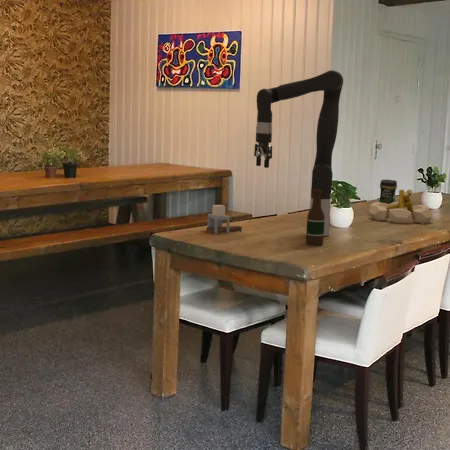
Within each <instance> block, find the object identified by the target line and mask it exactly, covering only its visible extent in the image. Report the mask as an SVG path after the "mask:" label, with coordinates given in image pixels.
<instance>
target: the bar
mask: <svg viewBox="0 0 450 450" xmlns="http://www.w3.org/2000/svg"><path fill="white" fill-rule="evenodd" d="M242 228H243V227H242V226H240V225H229V233H238V232H237V231H240V232H242V230H243V229H242ZM214 229H215V227H206V229H205V230H206V233H207V234H215V233H214ZM226 229H227V225H226V226H222V227H217V234H218V233H219V234H220V233H222V234H223V233H226Z"/></svg>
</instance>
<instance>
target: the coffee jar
mask: <svg viewBox="0 0 450 450" xmlns="http://www.w3.org/2000/svg"><path fill="white" fill-rule="evenodd" d="M379 183H380V184H379V188H380V194H379V195H380V196H379V199H378V200H379V201H378V202H381V203H386V204H391V203H393V202H396V190H397V189H398V182H397V180H392V179H381V180H380V182H379Z"/></svg>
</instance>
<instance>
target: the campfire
mask: <svg viewBox="0 0 450 450" xmlns="http://www.w3.org/2000/svg"><path fill="white" fill-rule="evenodd" d="M412 194H413V190H411V189H408V190H406V191H405V190H404V189H399V191H398V198H399V199H398V200H399V201H395V202H393V203H391V204H386V203H381V202H379V201H375V202H373V203H371V204H370V205H369V206H368V207H369V209H368V214H369V215H370V218H371V219H372V220H373V219H374V220H373V221H376V220H377V221H376V222H384V221H386V219H387V217H388V220H390V221H391V222H392V223H394V224H399V223H408V224H410V223H413V222H417V223H416V224H420V223H426V224H430V222H431V221H432V220H433V217H434V216H433V211H432V209H431V207H429V206H427V205H424V204H415V205H414V201H413V200H412V199H411V195H412ZM413 219H414V220H413Z"/></svg>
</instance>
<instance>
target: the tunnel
mask: <svg viewBox="0 0 450 450" xmlns="http://www.w3.org/2000/svg"><path fill="white" fill-rule="evenodd" d="M224 220H226V226H227V229H226V232H225V233H226V234H230V232H229V226H231V225H230V223H231V222H230V221H231V216H229V215H226V214H225V216H214V215H212V213H208V214H207V227H215V229H214V233H213V234H218V233H217V227H223V221H224ZM207 227H206V228H207Z"/></svg>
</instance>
